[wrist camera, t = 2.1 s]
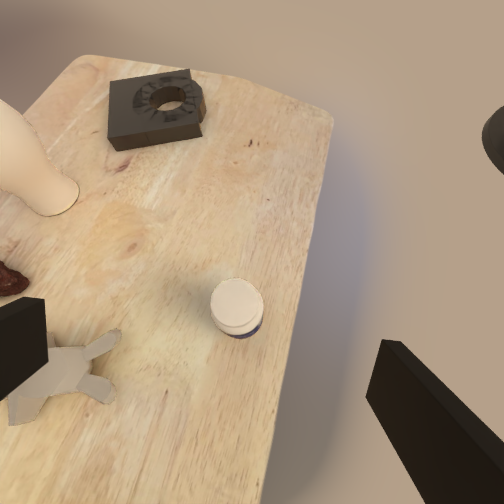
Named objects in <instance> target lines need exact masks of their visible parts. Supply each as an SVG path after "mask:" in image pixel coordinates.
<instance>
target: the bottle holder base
mask: <svg viewBox="0 0 504 504" xmlns="http://www.w3.org/2000/svg"><path fill="white" fill-rule="evenodd" d="M170 101H182V102H184V103H183V104H182V105H181V106H180V107H178V108H176V109H174V110H169V111H159V110H157V108H159V107H160V106H161V105H162V104H164V103H166V102H170ZM205 114H206V106H205V101H204V97H203V92H202V88H201V87H200V86H199V85H198V84H197V83H196V82H195V81H194V80H192V77H191V73H190V69H185V70H179V71H172V72H166V73H160V74H154V75H147V76H141V77H135V78H128V79H122V80H116V81H110V92H109V114H108V136H107V138H108V140H109V141H110V143H111V144H112V146H113V147H114V148H115V150H116V151H123V150H128V149H134V148H140V147H145V146H151V145H157V144H163V143H168V142H174V141H180V140H185V139H191V138H197V137H202V131H201V125H200V123H201V122H202V121H203V119H204V116H205Z"/></svg>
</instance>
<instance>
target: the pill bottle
mask: <svg viewBox="0 0 504 504" xmlns="http://www.w3.org/2000/svg"><path fill="white" fill-rule="evenodd" d="M210 307H211V316H212V319H213V321H214V323H215V324H216V326H217V327H218V328H219V329H220V330H222V331H223V332H225V333H226V334H227V335H229V336H231V337H233V338H236V339H245V338H248V337H251V336H252V335H254V334H255V333H256V332H257V331H258V329H259V328H260V326H261V324H262V320H263V313H264V304H263V299H262V296H261V295H260V293H259V291H258V290H257V289H256V288H255V287H254V286H253V285H252V284H251V283H249V282H248V281H246V280H244V279H241V278H230V279H226V280H224V281H222V282H221V283H220V284H218V285H217V286H216V288H215V289H214V291H213V293H212V295H211V299H210Z"/></svg>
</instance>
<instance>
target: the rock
mask: <svg viewBox="0 0 504 504" xmlns="http://www.w3.org/2000/svg"><path fill="white" fill-rule="evenodd" d="M28 285H29V280H28V279H27V278H26V277H24V276H23V275H22V274H21V273H20V272H18V271H14V270H12V269H9V268H7V267H6V266H5V265H4V263H3V262H2V261H0V296H9V295H16V294H19V293H21V292H22V291H23V290H24V289H25V288H26V287H27V286H28Z"/></svg>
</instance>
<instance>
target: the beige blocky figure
mask: <svg viewBox="0 0 504 504" xmlns="http://www.w3.org/2000/svg"><path fill="white" fill-rule="evenodd" d="M121 338H122V333H121V330H119V329H117V328H116V329H112V330H110V331H108V332H107V333H105V334H103V335H102V336H100V337H99V338H97V339H96V340H95V341H93V342H92V343H90V344H89V345H87V346H73V347H56V346H55V342H54V338H53V334H52V332H47V344H48V359H49V362H48V363H47V364H45V365H44V366H43V367H42V368H41V369H39V370H38V371H37V372H36V373H34V374H33V375H32V376H31V377H30V378H28V379H27V380H26V381H25V382H23V383H22V384H21V385H20V386H18V387H17V388H16V389H15V390H14V391H12V392H11V393H10V394H9V395H7V396H6V397H5V398H4V399H8V409H9V426H16V425H20V424H23V423H27V422H31V421H34V420H35V418H36V417H37V415H38V413H39V411H40V410H41V408H42V406H43V405H44V403H45V401H46V399H47V398H48V396H54V395H61V394H68V393H75V392H83V393H85V394H86V395H88V396H90V397H91V398H93V399H95V400H97V401H98V402H100V403H102V404H110V403H112V402H113V401H114V400H115V397H116V395H117V390H116V387H115V385H114V384H112V383H111V382H110V381H109V380H108V378H104V377H100V376H96V375H91V374H90V373H91V371H92V368H93V365H92V359H94V358H96V357H98V356H101V355H103V354H105V353H107V352H109V351H111V350H112V349H113V348H114V346H116V345H117V344H118V343H119V342H120V340H121Z"/></svg>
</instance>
